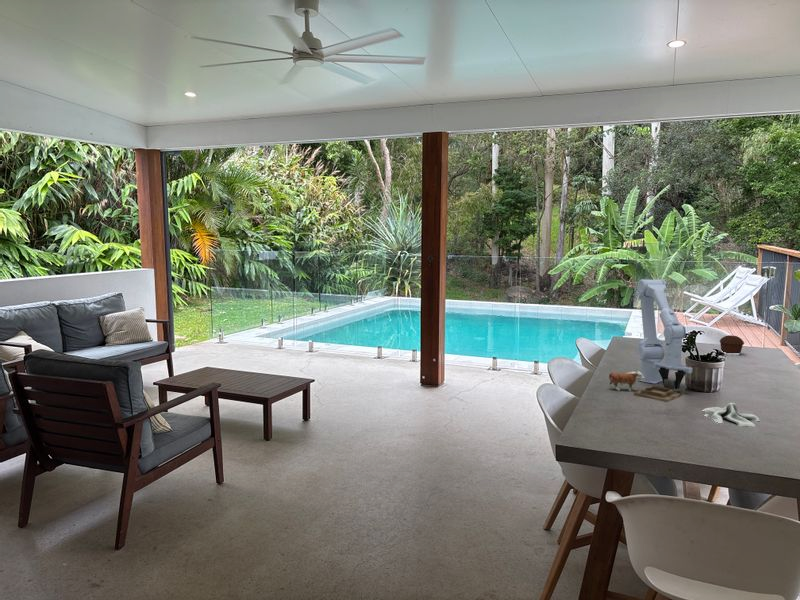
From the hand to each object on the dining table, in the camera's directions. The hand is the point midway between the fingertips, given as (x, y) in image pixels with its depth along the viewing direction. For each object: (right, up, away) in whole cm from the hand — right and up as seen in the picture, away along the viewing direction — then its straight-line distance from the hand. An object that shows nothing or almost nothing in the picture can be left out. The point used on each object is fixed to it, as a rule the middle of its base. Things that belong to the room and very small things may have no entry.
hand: (671, 387), depth 233 cm
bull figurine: (-18, -1, +1) cm, 18 cm away
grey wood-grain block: (0, -1, 0) cm, 1 cm away
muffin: (+69, +6, +78) cm, 104 cm away
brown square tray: (-9, -2, -7) cm, 11 cm away
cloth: (+3, -6, -36) cm, 36 cm away
